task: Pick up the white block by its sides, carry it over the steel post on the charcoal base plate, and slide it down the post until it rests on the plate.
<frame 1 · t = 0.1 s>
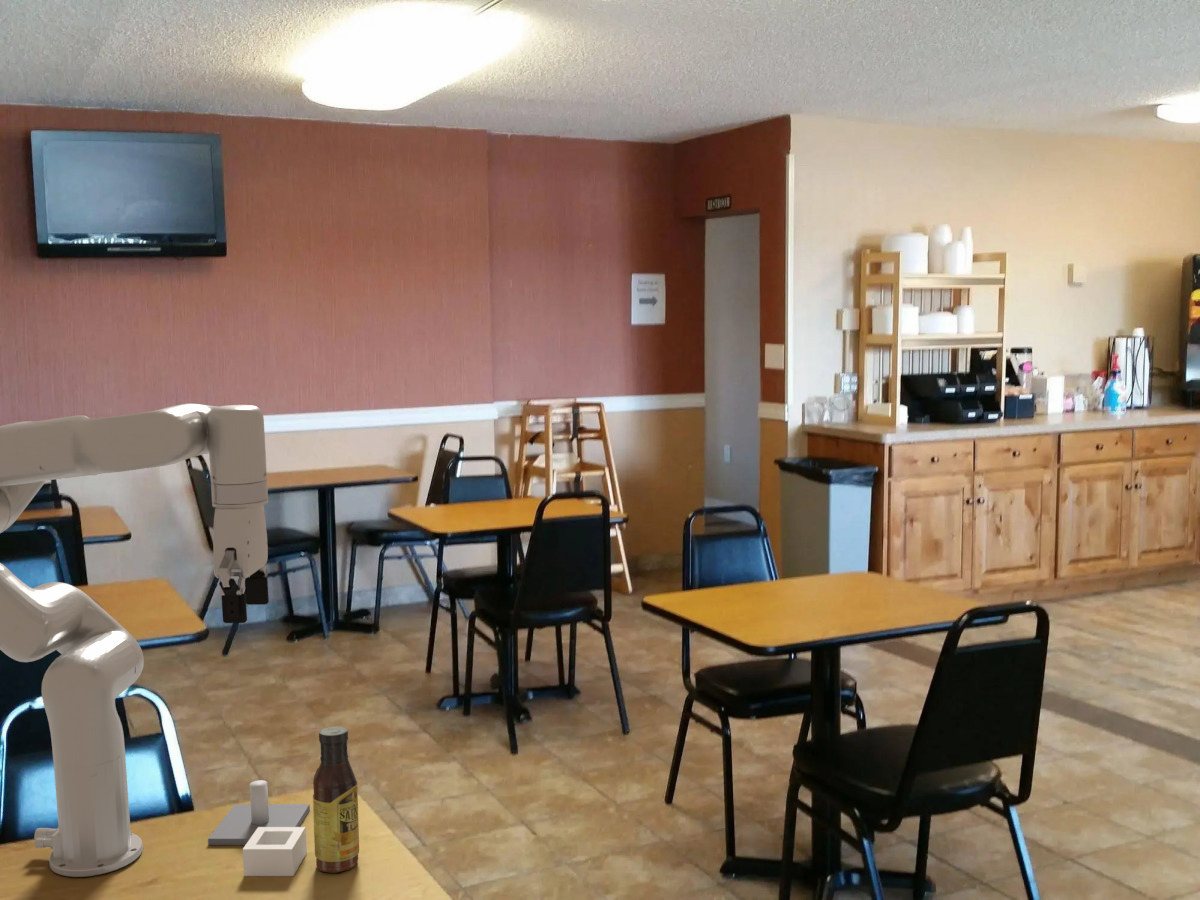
hand: (246, 613, 168), 37 cm above the table, tool pointing down, fingers open, 9 cm apart
post base: (260, 827, 182), on the table
white block: (276, 864, 170), on the table
sauce bottle: (338, 865, 170), on the table
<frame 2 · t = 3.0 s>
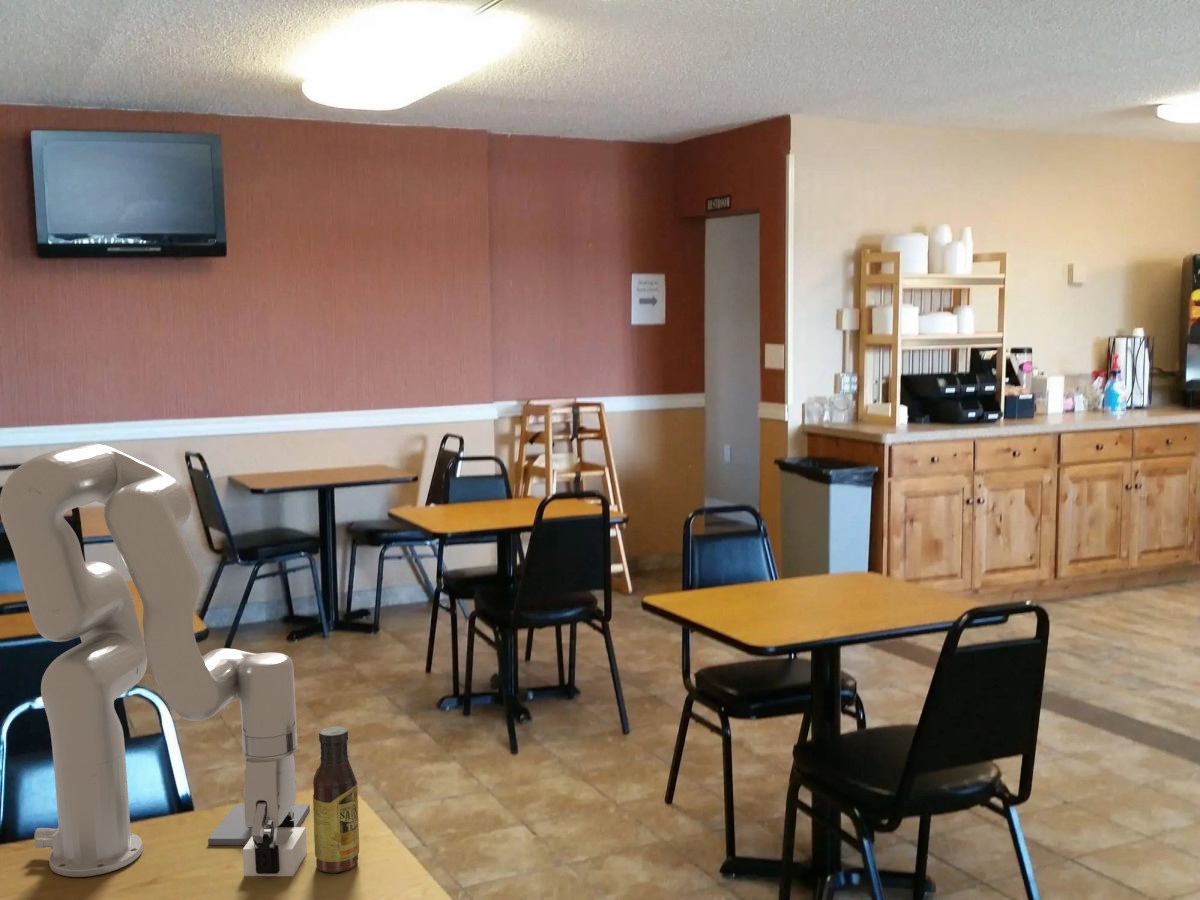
hand: (276, 858, 170), 1 cm above the table, tool pointing down, fingers closed on white block, 7 cm apart
white block: (276, 864, 170), on the table, touching gripper
everything else where it was.
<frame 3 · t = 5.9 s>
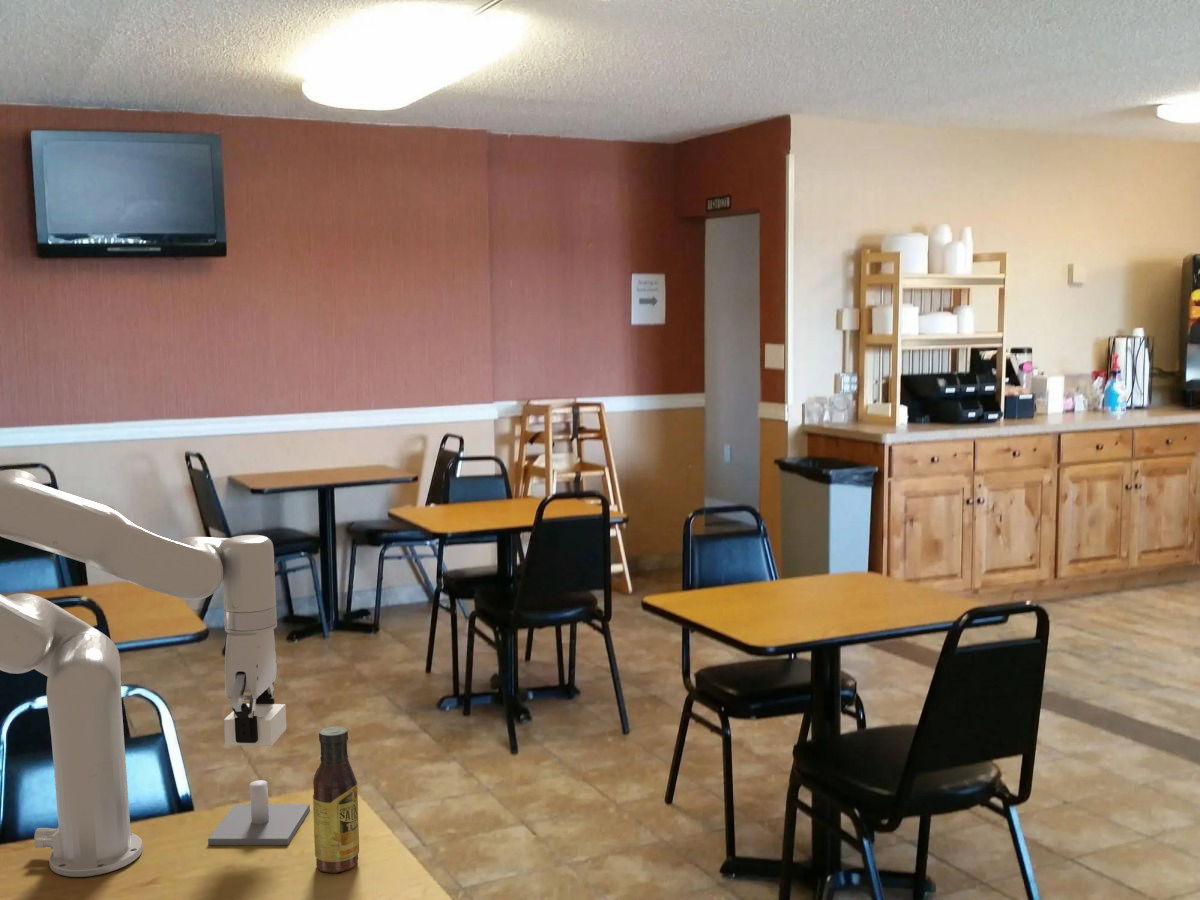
hand: (255, 731, 179), 16 cm above the table, tool pointing down, fingers closed on white block, 7 cm apart
white block: (256, 737, 180), point 15 cm above the table, touching gripper
everything else where it was.
when the fingers open (3 cm above the table, at t = 9.1 s): white block stays where it is, resting on post base.
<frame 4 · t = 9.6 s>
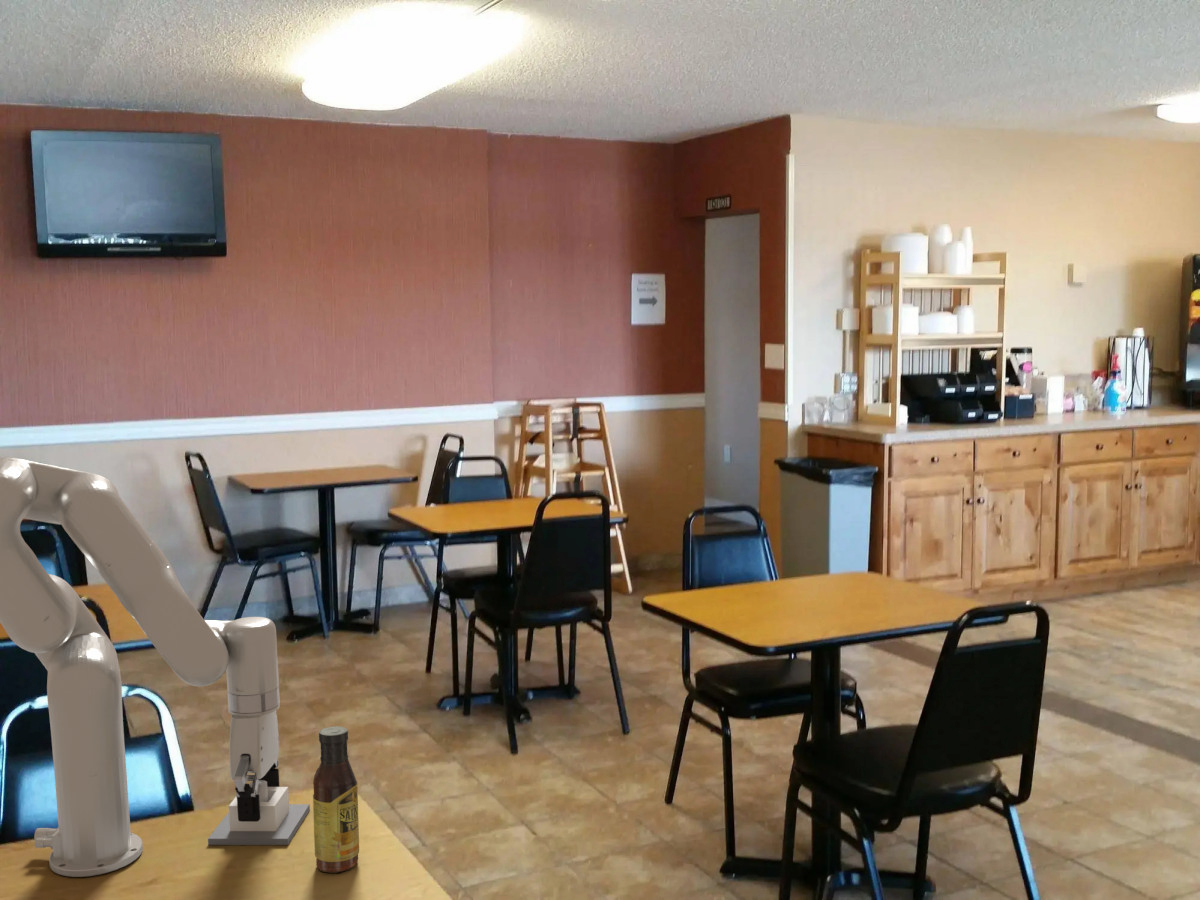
hand: (259, 806, 182), 3 cm above the table, tool pointing down, fingers open, 9 cm apart
white block: (260, 821, 182), point 1 cm above the table, touching post base
everything else where it was.
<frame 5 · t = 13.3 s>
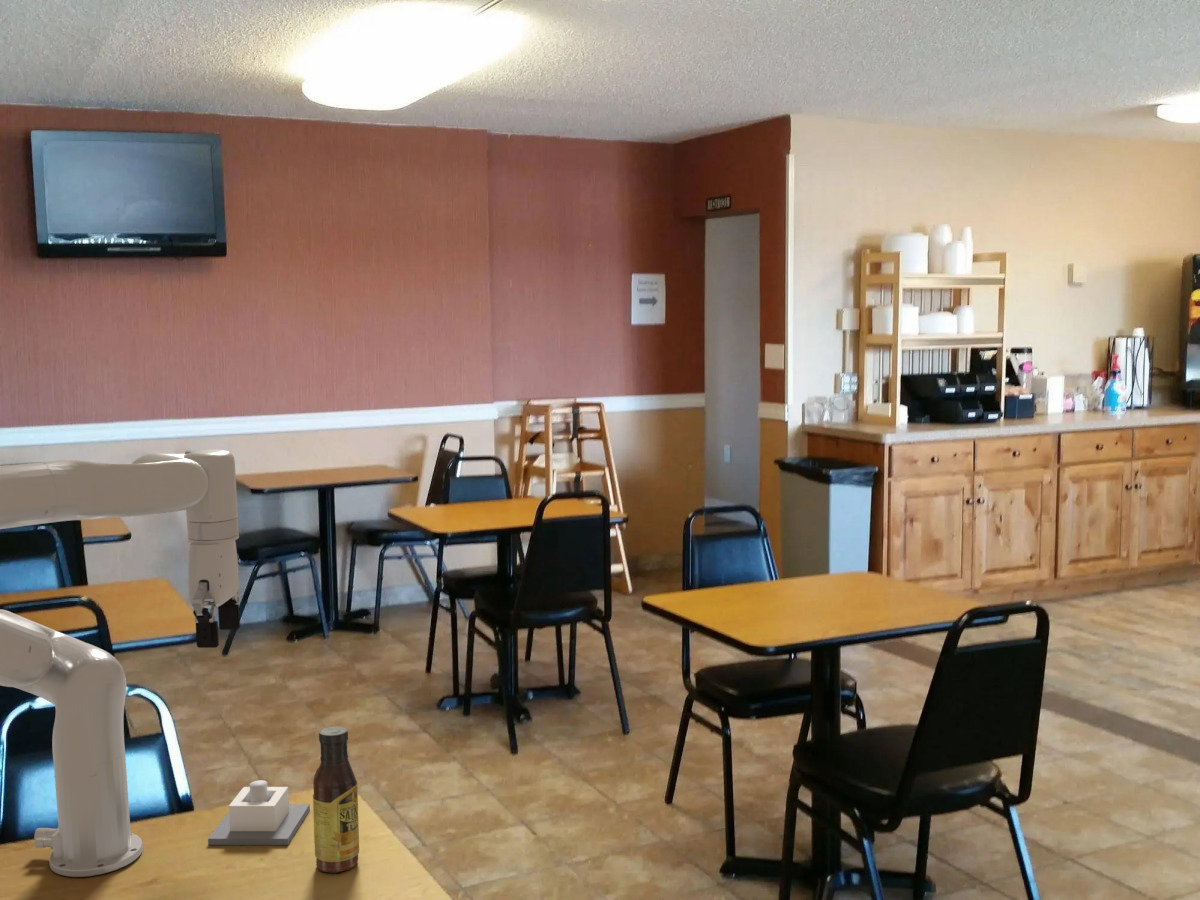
hand: (219, 637, 185), 28 cm above the table, tool pointing down, fingers open, 9 cm apart
nothing on the table moved.
at the end: white block 0.0 cm off-centre on the post base, point 1.0 cm above the post base's base; white block tilted 0°; the gripper is holding nothing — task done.
